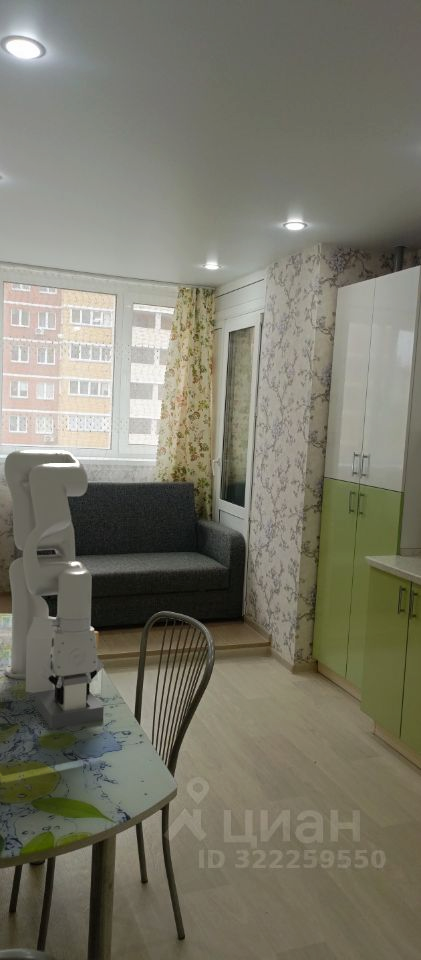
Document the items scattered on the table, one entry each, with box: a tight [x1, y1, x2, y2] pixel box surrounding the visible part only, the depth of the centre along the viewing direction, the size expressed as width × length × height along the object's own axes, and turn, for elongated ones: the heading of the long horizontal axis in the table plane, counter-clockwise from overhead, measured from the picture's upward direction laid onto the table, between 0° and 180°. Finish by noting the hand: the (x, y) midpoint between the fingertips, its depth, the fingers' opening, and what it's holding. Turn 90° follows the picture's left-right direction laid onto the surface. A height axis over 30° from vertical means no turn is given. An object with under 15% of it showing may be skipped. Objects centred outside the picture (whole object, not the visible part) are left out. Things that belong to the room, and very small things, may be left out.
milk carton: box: [25, 617, 57, 694], centre depth 177 cm, size 7×7×19 cm
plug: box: [58, 674, 88, 712], centre depth 162 cm, size 5×5×10 cm
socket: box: [34, 689, 104, 730], centre depth 165 cm, size 14×12×4 cm
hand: (72, 699), depth 162 cm, fingers closed on plug, 5 cm apart
